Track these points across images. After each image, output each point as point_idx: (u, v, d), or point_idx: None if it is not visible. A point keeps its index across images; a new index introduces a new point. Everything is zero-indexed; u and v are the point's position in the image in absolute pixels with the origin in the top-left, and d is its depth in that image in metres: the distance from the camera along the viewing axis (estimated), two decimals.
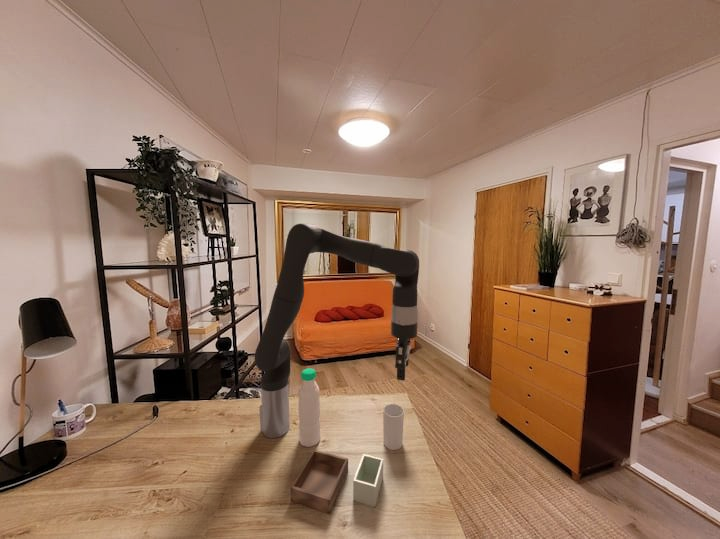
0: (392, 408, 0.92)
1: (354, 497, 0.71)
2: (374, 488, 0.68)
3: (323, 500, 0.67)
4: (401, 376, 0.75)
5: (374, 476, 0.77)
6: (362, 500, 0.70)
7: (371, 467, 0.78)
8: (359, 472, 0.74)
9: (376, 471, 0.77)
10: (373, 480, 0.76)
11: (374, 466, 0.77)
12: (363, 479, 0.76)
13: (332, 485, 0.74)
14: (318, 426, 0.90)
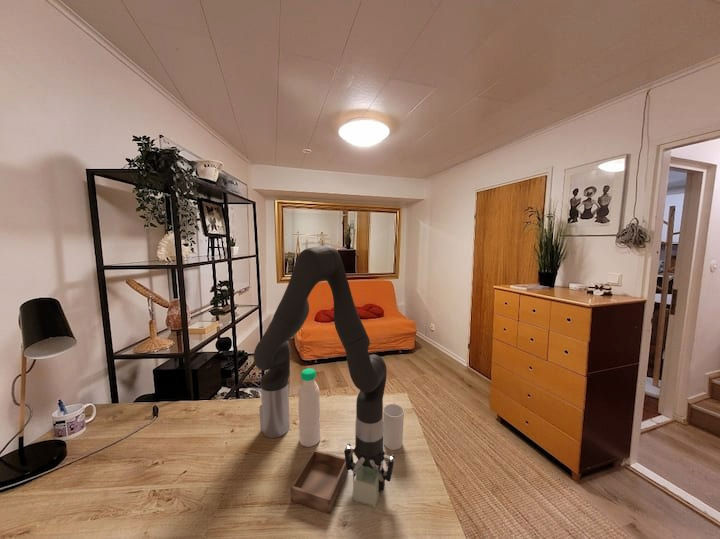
0: (392, 408, 0.92)
1: (354, 497, 0.71)
2: (374, 488, 0.68)
3: (323, 500, 0.67)
4: None
5: (374, 476, 0.77)
6: (362, 500, 0.70)
7: None
8: (359, 472, 0.74)
9: None
10: (373, 480, 0.76)
11: None
12: (363, 479, 0.76)
13: (332, 485, 0.74)
14: (318, 426, 0.90)
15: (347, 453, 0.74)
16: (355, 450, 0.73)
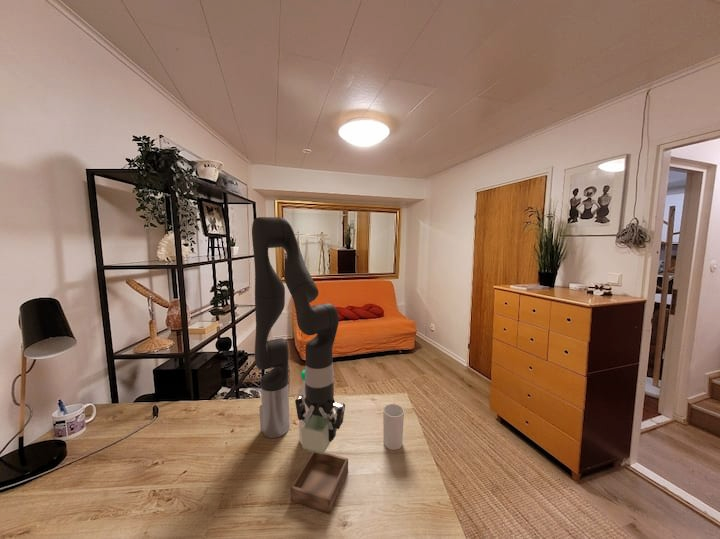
0: (392, 408, 0.92)
1: (303, 445, 0.70)
2: (321, 434, 0.68)
3: (323, 500, 0.67)
4: None
5: None
6: (310, 448, 0.69)
7: None
8: (310, 422, 0.73)
9: None
10: None
11: None
12: None
13: (332, 485, 0.74)
14: None
15: (298, 403, 0.73)
16: (305, 399, 0.72)
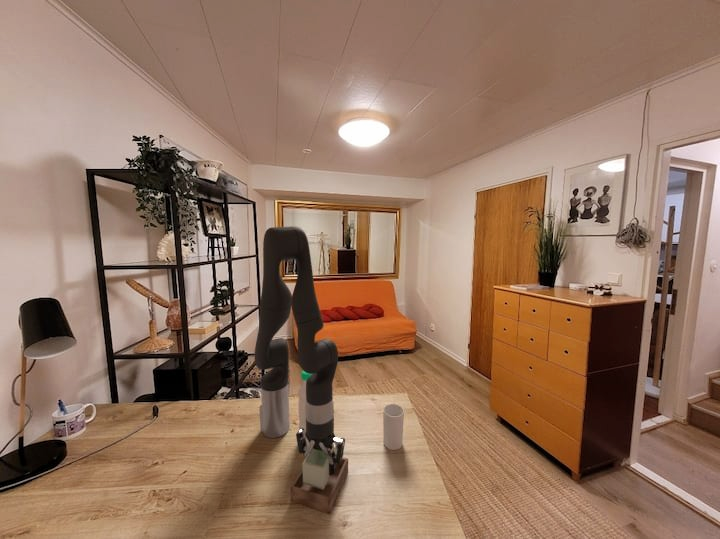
0: (392, 408, 0.92)
1: (304, 480, 0.71)
2: (322, 470, 0.69)
3: (323, 500, 0.67)
4: None
5: None
6: (311, 483, 0.70)
7: None
8: (311, 456, 0.74)
9: None
10: None
11: None
12: (316, 463, 0.77)
13: (332, 485, 0.74)
14: None
15: (299, 436, 0.74)
16: (306, 433, 0.73)
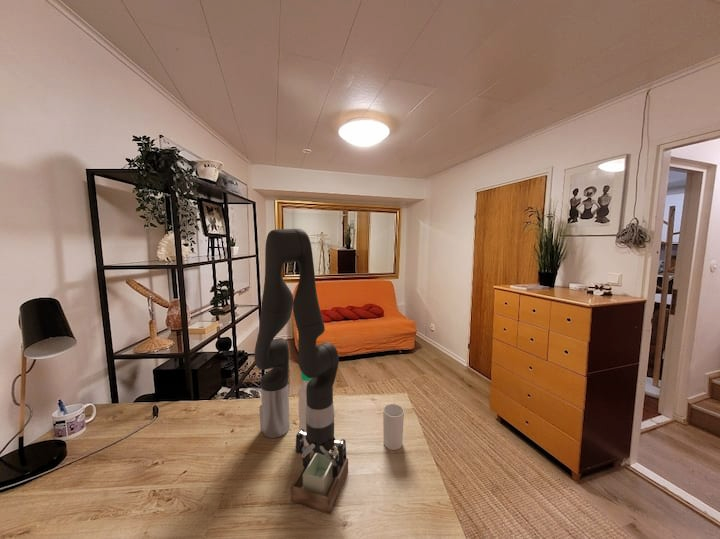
0: (392, 408, 0.92)
1: None
2: (322, 482, 0.69)
3: (323, 500, 0.67)
4: (338, 470, 0.73)
5: None
6: None
7: (325, 462, 0.79)
8: (311, 467, 0.75)
9: None
10: None
11: (328, 461, 0.78)
12: (316, 474, 0.77)
13: (332, 485, 0.74)
14: None
15: (299, 438, 0.74)
16: (307, 436, 0.73)
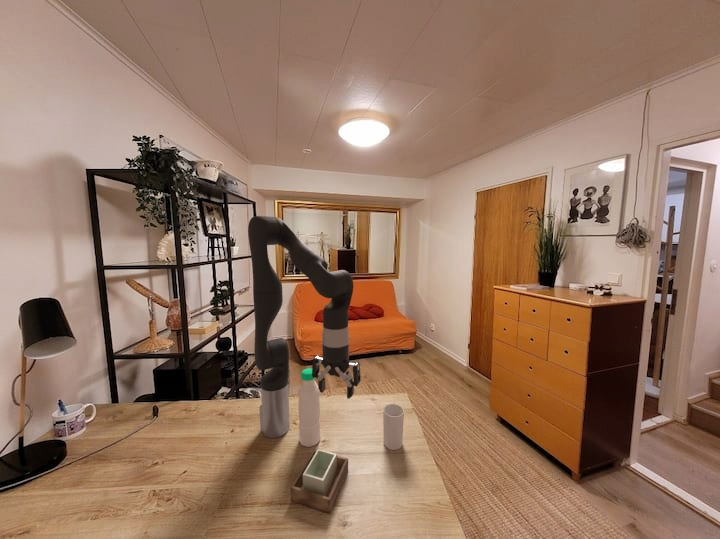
0: (392, 408, 0.92)
1: None
2: (322, 482, 0.69)
3: (323, 500, 0.67)
4: None
5: None
6: None
7: (325, 462, 0.79)
8: (311, 467, 0.75)
9: None
10: None
11: (328, 461, 0.78)
12: (316, 474, 0.77)
13: (332, 485, 0.74)
14: (318, 426, 0.90)
15: (315, 362, 0.78)
16: (323, 360, 0.77)
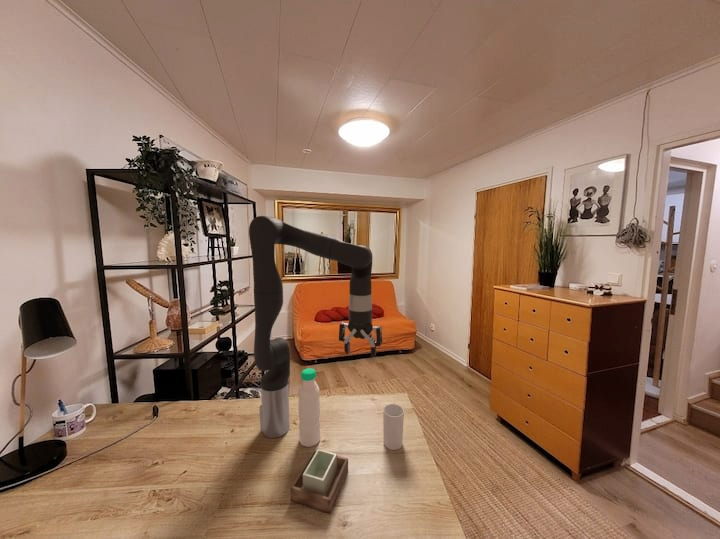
0: (392, 408, 0.92)
1: None
2: (322, 482, 0.69)
3: (323, 500, 0.67)
4: None
5: None
6: None
7: (325, 462, 0.79)
8: (311, 467, 0.75)
9: None
10: None
11: (328, 461, 0.78)
12: (316, 474, 0.77)
13: (332, 485, 0.74)
14: (318, 426, 0.90)
15: (342, 327, 0.88)
16: (349, 325, 0.88)
